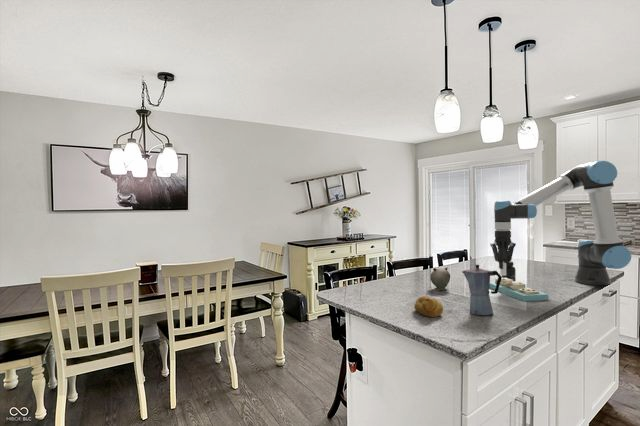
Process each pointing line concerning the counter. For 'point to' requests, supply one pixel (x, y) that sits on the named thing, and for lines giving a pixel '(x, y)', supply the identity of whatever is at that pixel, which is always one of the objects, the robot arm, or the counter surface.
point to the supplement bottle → (510, 272)
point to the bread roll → (428, 307)
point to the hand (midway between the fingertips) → (503, 274)
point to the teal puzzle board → (519, 293)
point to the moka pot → (481, 290)
